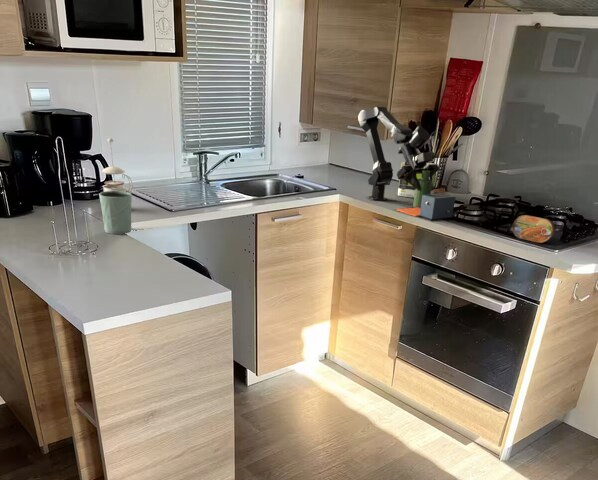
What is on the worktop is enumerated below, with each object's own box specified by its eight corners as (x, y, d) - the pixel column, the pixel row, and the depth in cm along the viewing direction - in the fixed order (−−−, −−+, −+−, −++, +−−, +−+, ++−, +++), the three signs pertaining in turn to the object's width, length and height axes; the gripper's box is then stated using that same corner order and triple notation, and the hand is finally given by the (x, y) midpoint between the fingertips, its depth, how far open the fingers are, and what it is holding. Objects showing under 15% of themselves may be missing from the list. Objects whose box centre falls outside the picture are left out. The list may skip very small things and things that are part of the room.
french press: (98, 207, 229) (91, 136, 216) (127, 205, 235) (121, 135, 223) (110, 213, 222) (103, 140, 210) (139, 210, 229) (133, 139, 217)
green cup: (98, 229, 202) (94, 191, 196) (127, 225, 208) (123, 189, 202) (110, 236, 195) (106, 198, 189) (139, 232, 201) (136, 195, 195)
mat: (396, 210, 252) (396, 209, 252) (421, 207, 259) (421, 207, 259) (415, 216, 244) (415, 215, 244) (440, 214, 251) (440, 213, 250)
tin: (510, 236, 223) (515, 213, 219) (514, 235, 225) (519, 212, 221) (548, 245, 214) (554, 221, 210) (552, 244, 216) (558, 220, 212)
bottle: (415, 203, 253) (420, 168, 246) (429, 206, 251) (435, 170, 244) (411, 206, 248) (416, 170, 241) (426, 208, 246) (432, 172, 239)
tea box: (433, 196, 283) (438, 163, 275) (428, 200, 275) (433, 166, 267) (402, 192, 288) (407, 159, 280) (396, 196, 280) (401, 162, 272)
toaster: (417, 216, 244) (420, 194, 239) (439, 214, 250) (443, 192, 245) (431, 221, 238) (434, 198, 234) (453, 218, 244) (457, 196, 240)
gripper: (405, 144, 236) (420, 178, 234) (440, 143, 245) (454, 176, 243) (390, 161, 246) (403, 195, 243) (424, 160, 255) (437, 192, 252)
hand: (425, 189), depth 245 cm, fingers closed on bottle, 6 cm apart
